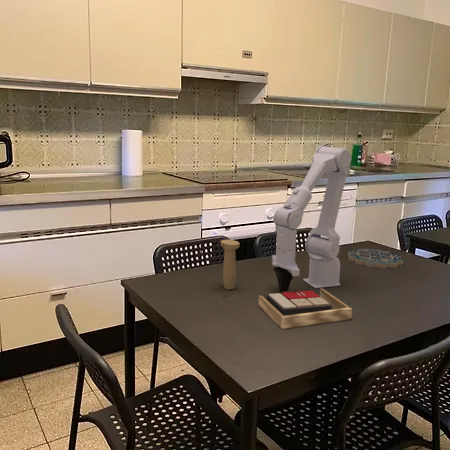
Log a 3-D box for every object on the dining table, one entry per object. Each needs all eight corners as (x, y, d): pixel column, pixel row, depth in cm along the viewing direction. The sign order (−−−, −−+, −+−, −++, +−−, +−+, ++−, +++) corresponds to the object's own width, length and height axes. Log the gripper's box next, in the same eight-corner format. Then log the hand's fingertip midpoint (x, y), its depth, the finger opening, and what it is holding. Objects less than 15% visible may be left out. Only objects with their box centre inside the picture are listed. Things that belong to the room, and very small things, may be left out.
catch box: (321, 297, 138) (322, 288, 137) (351, 319, 123) (352, 308, 123) (258, 305, 131) (258, 295, 130) (282, 328, 117) (282, 317, 116)
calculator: (332, 303, 125) (283, 306, 120) (330, 317, 126) (281, 322, 121) (312, 289, 135) (266, 291, 130) (310, 302, 136) (264, 306, 131)
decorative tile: (410, 261, 177) (410, 255, 176) (389, 272, 162) (390, 266, 162) (361, 250, 190) (362, 244, 189) (338, 260, 175) (338, 254, 175)
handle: (228, 293, 140) (229, 245, 136) (216, 286, 145) (217, 240, 141) (241, 289, 142) (242, 243, 139) (229, 283, 148) (230, 238, 144)
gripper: (263, 242, 141) (261, 284, 144) (284, 255, 128) (282, 301, 131) (284, 240, 143) (282, 281, 146) (307, 253, 130) (304, 298, 133)
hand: (283, 290), depth 139 cm, fingers closed
